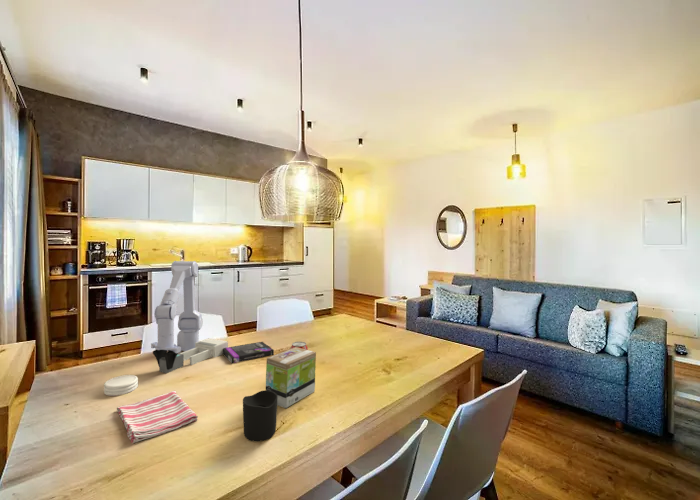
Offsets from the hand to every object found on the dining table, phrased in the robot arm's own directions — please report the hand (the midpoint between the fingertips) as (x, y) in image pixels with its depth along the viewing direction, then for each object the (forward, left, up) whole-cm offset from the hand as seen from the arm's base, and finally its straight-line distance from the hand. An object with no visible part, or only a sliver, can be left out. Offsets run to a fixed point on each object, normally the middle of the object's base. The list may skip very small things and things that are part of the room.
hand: (165, 367), depth 133 cm
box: (+17, +29, -2) cm, 34 cm away
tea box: (+57, +3, -2) cm, 57 cm away
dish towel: (+27, -25, -2) cm, 37 cm away
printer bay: (0, +19, -1) cm, 19 cm away
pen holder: (+61, -19, -2) cm, 64 cm away
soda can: (+49, +21, -2) cm, 54 cm away
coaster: (0, -18, -2) cm, 18 cm away
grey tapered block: (0, +3, -1) cm, 3 cm away
